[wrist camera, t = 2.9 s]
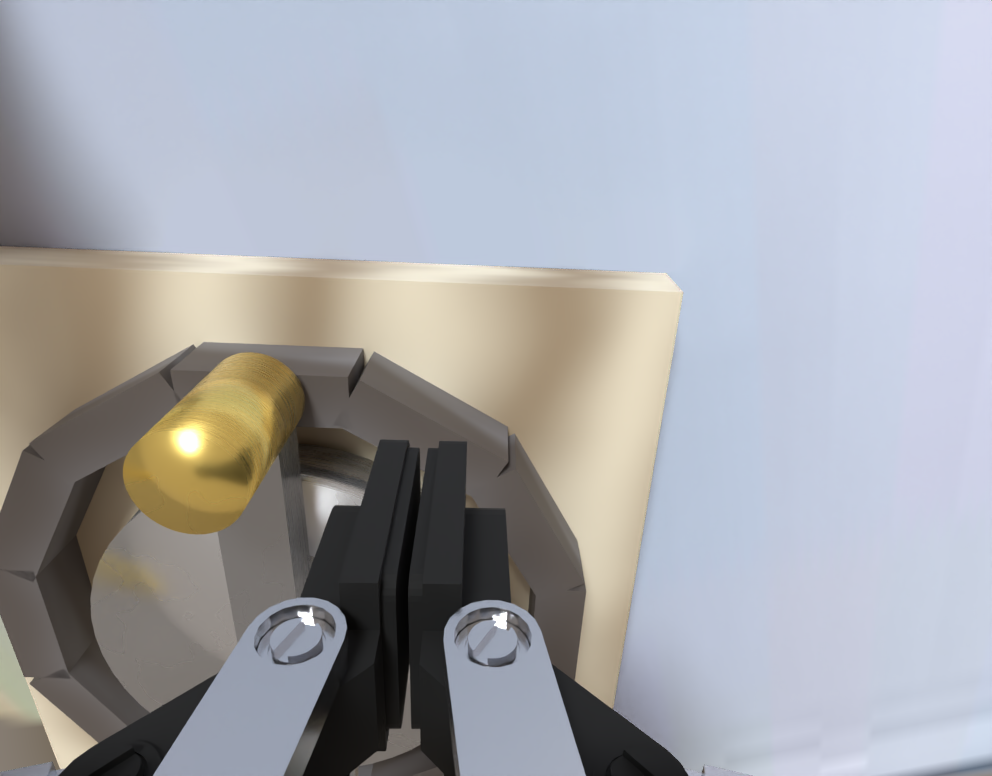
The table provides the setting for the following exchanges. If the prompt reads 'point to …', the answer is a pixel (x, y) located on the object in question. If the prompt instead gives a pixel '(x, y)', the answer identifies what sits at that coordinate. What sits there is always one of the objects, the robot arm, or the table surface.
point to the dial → (219, 531)
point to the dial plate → (328, 426)
